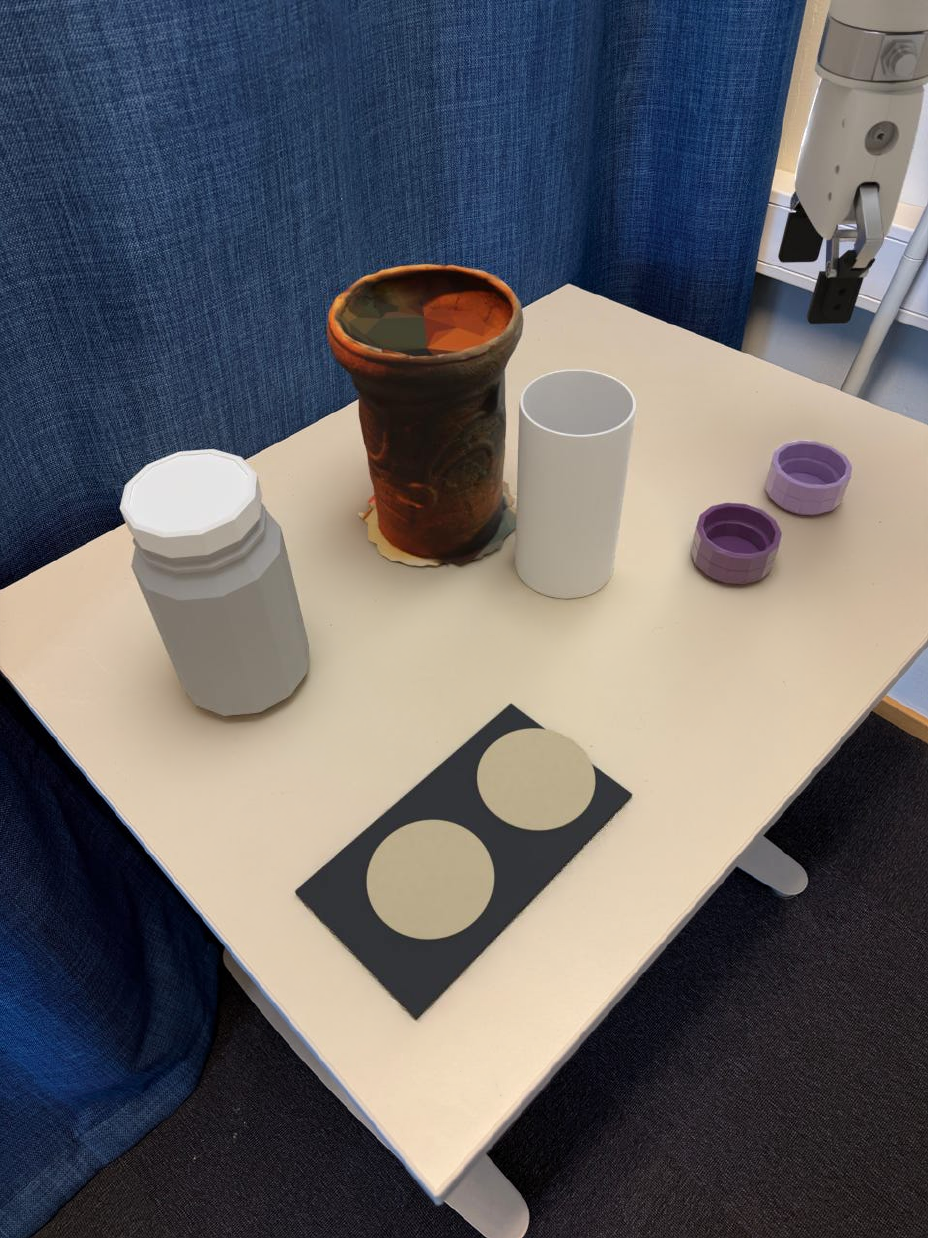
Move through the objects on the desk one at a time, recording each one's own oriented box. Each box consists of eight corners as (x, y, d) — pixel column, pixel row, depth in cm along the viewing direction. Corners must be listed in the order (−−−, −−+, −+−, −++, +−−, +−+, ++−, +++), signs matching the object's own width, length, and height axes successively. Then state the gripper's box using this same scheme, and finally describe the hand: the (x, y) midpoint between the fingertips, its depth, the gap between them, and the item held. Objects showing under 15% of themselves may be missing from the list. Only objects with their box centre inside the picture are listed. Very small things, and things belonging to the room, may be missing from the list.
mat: (515, 702, 66) (515, 698, 66) (636, 792, 61) (637, 788, 61) (295, 893, 57) (294, 890, 56) (416, 1020, 51) (415, 1017, 51)
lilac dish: (801, 461, 84) (811, 431, 81) (857, 501, 80) (869, 471, 77) (747, 486, 82) (756, 455, 79) (802, 528, 78) (812, 498, 75)
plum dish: (733, 522, 78) (741, 492, 76) (789, 569, 75) (799, 538, 72) (673, 550, 76) (679, 520, 74) (727, 600, 72) (736, 569, 70)
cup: (589, 520, 79) (606, 359, 67) (630, 584, 74) (656, 421, 62) (501, 542, 77) (502, 381, 66) (536, 609, 72) (545, 447, 60)
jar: (174, 645, 71) (99, 461, 57) (296, 610, 73) (251, 425, 59) (194, 742, 64) (116, 562, 51) (327, 701, 67) (285, 518, 53)
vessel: (403, 448, 87) (384, 244, 72) (542, 487, 82) (553, 278, 67) (326, 543, 78) (286, 334, 63) (476, 591, 74) (472, 379, 59)
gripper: (985, 92, 54) (891, 347, 67) (895, 8, 66) (830, 239, 78) (858, 95, 54) (789, 349, 67) (791, 10, 66) (743, 240, 79)
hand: (811, 289), depth 73 cm, fingers open, 9 cm apart
